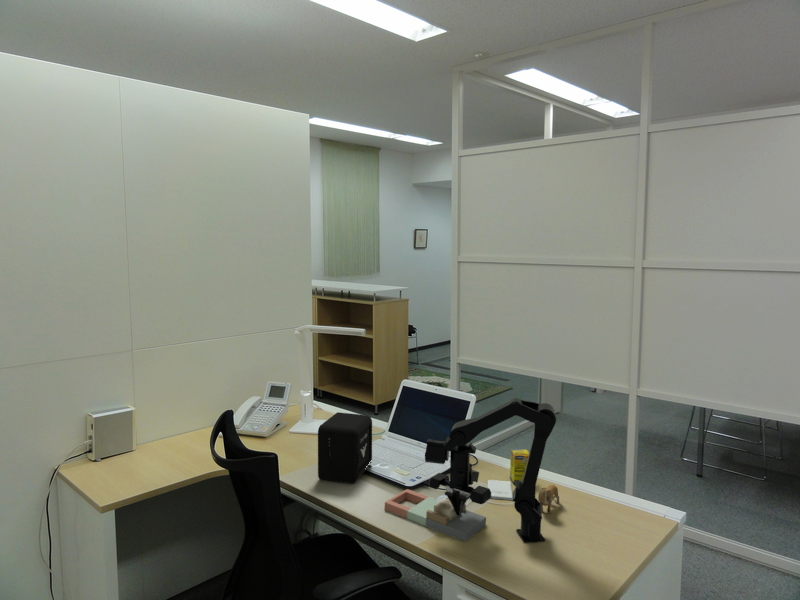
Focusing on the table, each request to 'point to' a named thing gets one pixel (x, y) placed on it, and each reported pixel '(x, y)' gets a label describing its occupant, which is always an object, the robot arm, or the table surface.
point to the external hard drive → (500, 489)
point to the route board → (436, 515)
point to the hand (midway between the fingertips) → (458, 515)
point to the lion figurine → (548, 497)
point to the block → (445, 509)
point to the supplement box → (518, 464)
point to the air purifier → (344, 447)
